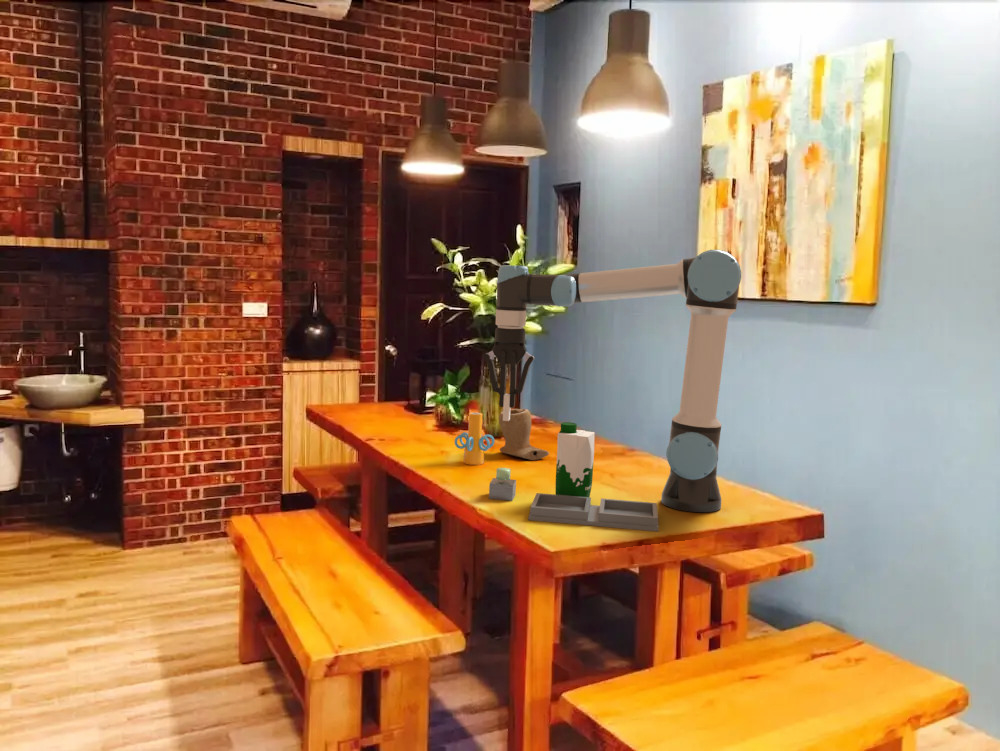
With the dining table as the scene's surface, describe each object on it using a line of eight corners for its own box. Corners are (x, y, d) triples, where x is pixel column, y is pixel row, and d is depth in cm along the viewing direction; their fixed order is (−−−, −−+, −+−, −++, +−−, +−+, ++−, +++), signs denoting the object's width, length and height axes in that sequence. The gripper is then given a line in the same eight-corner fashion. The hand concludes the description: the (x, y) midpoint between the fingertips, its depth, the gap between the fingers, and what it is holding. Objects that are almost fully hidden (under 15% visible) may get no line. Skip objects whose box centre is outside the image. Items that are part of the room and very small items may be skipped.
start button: (511, 477, 227) (511, 468, 227) (509, 480, 223) (509, 471, 223) (497, 476, 228) (497, 467, 227) (495, 479, 224) (495, 470, 224)
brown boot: (489, 453, 278) (491, 406, 276) (519, 450, 285) (521, 404, 283) (519, 463, 266) (522, 414, 264) (549, 459, 273) (552, 412, 271)
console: (515, 494, 229) (516, 479, 228) (512, 500, 223) (513, 485, 222) (492, 493, 229) (493, 478, 229) (488, 498, 224) (489, 483, 223)
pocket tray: (656, 514, 216) (657, 502, 216) (658, 531, 202) (659, 518, 202) (535, 504, 221) (535, 492, 220) (528, 519, 206) (529, 507, 206)
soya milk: (559, 495, 230) (564, 420, 228) (593, 500, 227) (598, 423, 225) (550, 503, 222) (555, 425, 219) (585, 508, 219) (590, 429, 216)
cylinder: (457, 467, 257) (459, 416, 255) (450, 459, 267) (452, 410, 265) (498, 466, 260) (500, 416, 258) (489, 459, 270) (491, 410, 268)
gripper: (537, 327, 224) (533, 419, 226) (487, 325, 225) (483, 415, 228) (534, 329, 216) (530, 424, 219) (482, 326, 218) (478, 420, 221)
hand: (506, 419), depth 224 cm, fingers closed
